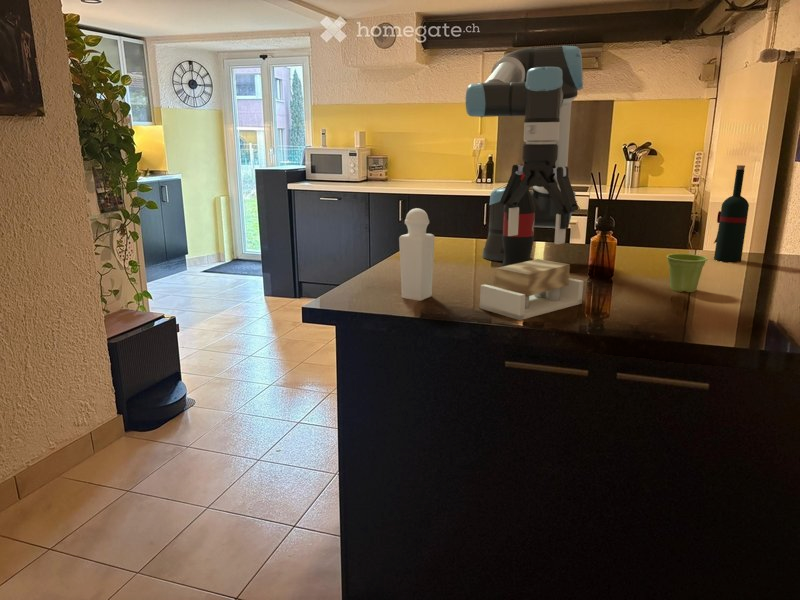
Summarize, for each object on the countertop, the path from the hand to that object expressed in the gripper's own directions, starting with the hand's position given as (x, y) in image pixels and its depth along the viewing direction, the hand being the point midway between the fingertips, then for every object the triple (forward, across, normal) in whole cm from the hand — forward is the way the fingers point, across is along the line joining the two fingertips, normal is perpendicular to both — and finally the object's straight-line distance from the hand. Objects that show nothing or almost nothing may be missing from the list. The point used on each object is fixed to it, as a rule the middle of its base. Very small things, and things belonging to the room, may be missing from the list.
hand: (535, 239), depth 133 cm
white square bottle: (+16, -23, -17) cm, 32 cm away
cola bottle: (+16, -19, +15) cm, 29 cm away
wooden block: (+11, 0, 0) cm, 11 cm away
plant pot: (+16, +14, +42) cm, 48 cm away
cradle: (+16, 0, -1) cm, 16 cm away
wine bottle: (+17, +2, +92) cm, 94 cm away
